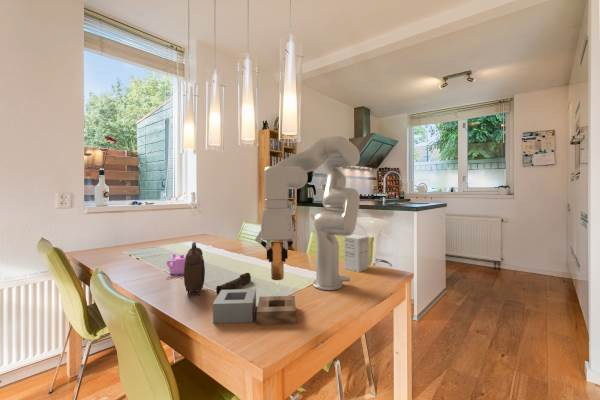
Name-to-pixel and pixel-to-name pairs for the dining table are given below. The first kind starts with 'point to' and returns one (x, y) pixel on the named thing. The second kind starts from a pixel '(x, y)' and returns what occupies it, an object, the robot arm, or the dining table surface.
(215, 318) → the socket block
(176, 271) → the teapot
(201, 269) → the alarm clock
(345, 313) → the dining table surface
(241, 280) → the hand tool
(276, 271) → the pin
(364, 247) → the supplement box
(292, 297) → the mount block
